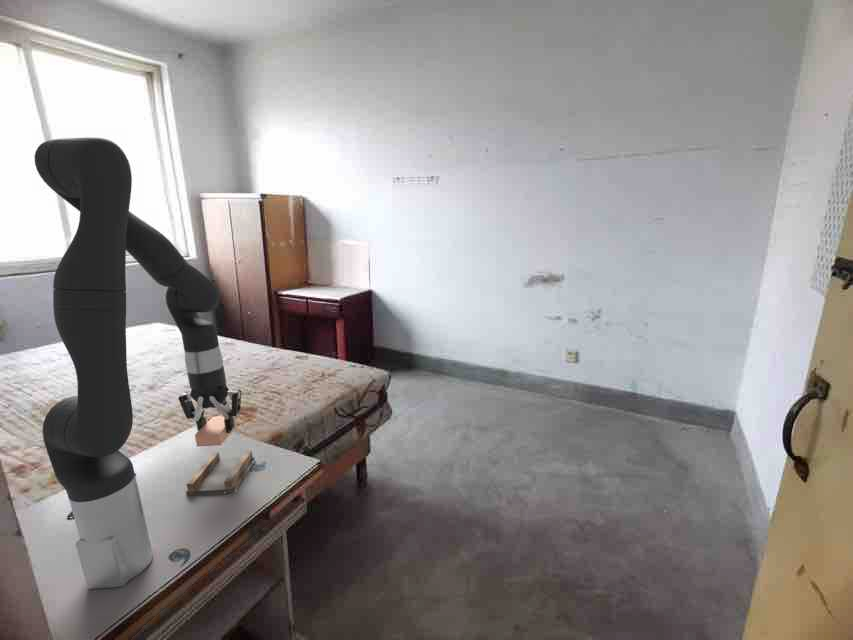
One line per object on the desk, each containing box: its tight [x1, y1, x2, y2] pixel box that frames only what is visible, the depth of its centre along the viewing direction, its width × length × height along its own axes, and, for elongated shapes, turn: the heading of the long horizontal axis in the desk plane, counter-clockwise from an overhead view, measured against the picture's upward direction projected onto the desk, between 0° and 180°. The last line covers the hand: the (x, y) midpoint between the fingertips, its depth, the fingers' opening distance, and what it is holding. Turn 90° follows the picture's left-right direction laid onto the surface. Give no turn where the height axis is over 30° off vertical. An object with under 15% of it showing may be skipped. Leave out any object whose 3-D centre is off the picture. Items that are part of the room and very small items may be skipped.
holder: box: [185, 450, 256, 496], centre depth 100 cm, size 13×11×3 cm
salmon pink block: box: [194, 415, 238, 448], centre depth 98 cm, size 9×6×3 cm, turn 3°
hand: (216, 431), depth 98 cm, fingers closed on salmon pink block, 5 cm apart
